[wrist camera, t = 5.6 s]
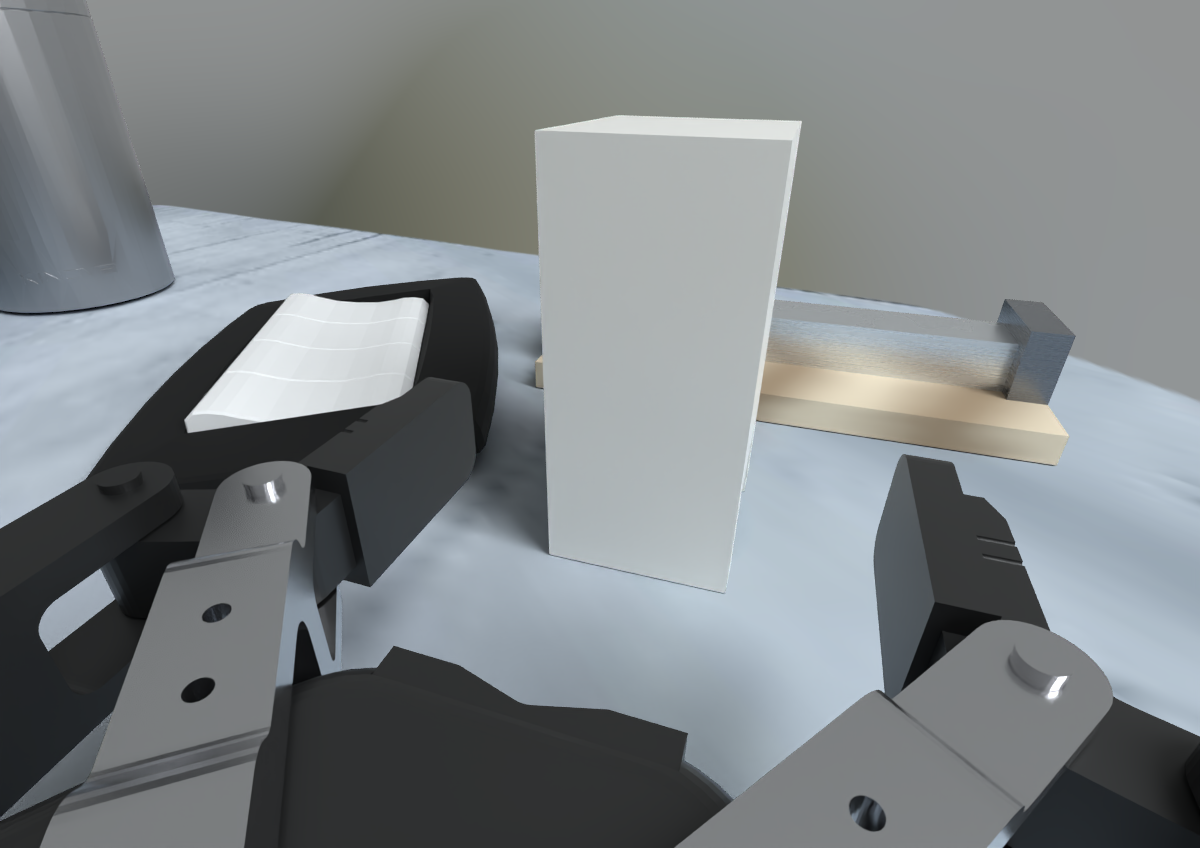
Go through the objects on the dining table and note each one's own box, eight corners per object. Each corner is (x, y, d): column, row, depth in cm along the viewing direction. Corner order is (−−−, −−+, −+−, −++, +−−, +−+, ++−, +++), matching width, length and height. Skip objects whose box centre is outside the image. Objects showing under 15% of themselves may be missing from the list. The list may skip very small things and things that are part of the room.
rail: (555, 341, 29) (554, 281, 28) (583, 314, 32) (583, 259, 31) (1047, 405, 24) (1075, 335, 22) (1019, 365, 27) (1042, 302, 26)
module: (549, 554, 18) (535, 130, 13) (614, 441, 23) (623, 114, 18) (725, 593, 17) (792, 140, 11) (749, 463, 22) (802, 120, 17)
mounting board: (536, 387, 27) (535, 361, 27) (597, 320, 35) (597, 299, 34) (1056, 465, 22) (1069, 436, 22) (997, 368, 30) (1005, 344, 29)
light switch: (236, 285, 35) (487, 253, 36) (254, 333, 36) (495, 301, 38) (7, 486, 18) (497, 411, 19) (59, 563, 19) (511, 487, 21)
